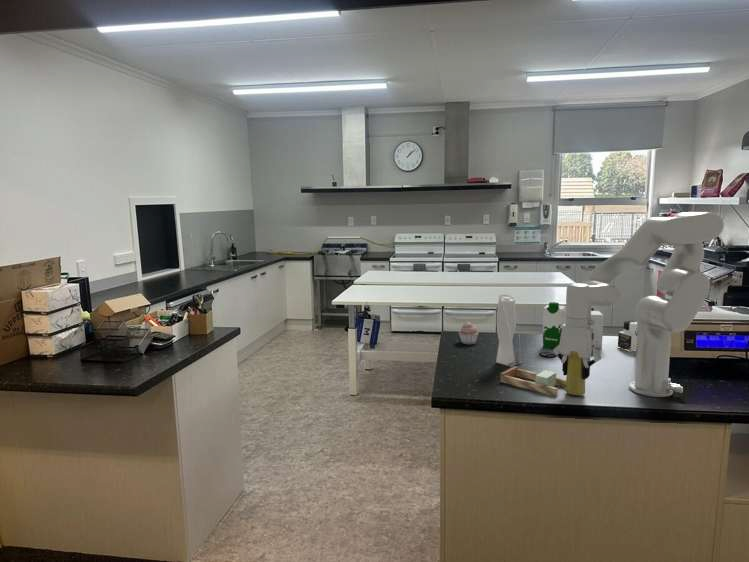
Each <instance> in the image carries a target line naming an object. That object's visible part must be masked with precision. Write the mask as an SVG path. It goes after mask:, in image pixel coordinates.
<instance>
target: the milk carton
mask: <svg viewBox="0 0 749 562" xmlns="http://www.w3.org/2000/svg"><path fill="white" fill-rule="evenodd" d="M565 316H566V305H560V304H559V302H553V301H551V302H549V303H548V304H547V305H545V306H544V307H543V315H542V347H543V349H551V350H553V349H555V348H556V347H557V346H558V345H559V344H560V337H561V332H562V328H563V325H564V324H565Z"/></svg>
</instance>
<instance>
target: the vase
mask: <svg viewBox="0 0 749 562" xmlns="http://www.w3.org/2000/svg"><path fill="white" fill-rule="evenodd" d="M583 367H584V362H583V359H582V358H579V357H578V352H574V351H570V356H568V361H567V375H566V379H565V380H566V388H565V390H564V391H565V393H567V394H569V395H573V396H583V395H585V394H586V379H585V380H583V379H582V374H583Z"/></svg>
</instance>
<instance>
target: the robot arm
mask: <svg viewBox="0 0 749 562" xmlns="http://www.w3.org/2000/svg"><path fill="white" fill-rule="evenodd" d="M724 226H725V224H724V221H723V218H722V217H721V216H720V215H719V214H717V213H715V212H710V211H688V212H687V211H684V212H679V213H676V214H675V215H673V216H670V217H669V216H652V217H649V218H647V219H646V220H645V221H643V223H641V225H639V228H638V229H637V230H636V231H635V232H634V233H633V235H632V236H631V237H630V238H629V239H628V240H627V242H626V243H625V244H624V245H623V246H622V247H621V249H620V250H619V251H617V252H616V253H614V254H613V255H611V256H609V257H608V258H607V259H606V260H604V261H602V262H601V263H599V264H598V265H597V266H596V267H594V269H593V270H592V271H591V272H590V273H589V275H587V277H586V279H584V281H583V282H582V283H580V282H576V283H575V282H574V283H569V284H567V287H566V291H565V292H566V293H565V294H566V297H565V313H566V315H565V324H564V325H563V328H562V332H561V337H560V344H559V345H558V346H557V347H556V348H555V349H552V351H553V353H554V354H555V355H556V356H557V357H558V358H559V360H560V362H561V363H562V365H561V367H562V369H561V371H562V373H563V376H567V361H568V356H570V351H574V352H578V357H579V358H582V359H583V362H584V367H583V374H582V379H583V380H585V381H586V380H587V379H589V377H590V374H591V373H590V371H591V366H592V365H594V364H596V363H597V362H599V361H600V360H601V359H602V356H601V355H600V353H599V352H598V351H597V350H596V348H595V335H594V329H593V327H591V325H595V321H593V320H592V318H591V311H592V307H599V308H613V307H614V306H616V305H617V304H618V303H619V302H620V301H621V299H622V294H621V291H620V290H619V288H618V287H616V286H615V285H614V284H611V283H612V282H613V281H614V280H615V279H617V278H618V277H621V276H623V275H626V274H628V273H633V272H636V271H637V270H641V269H643V268H644V267H645V266H646V264H648V262H649V261H650V260H651V258H652V257H653V256H654V255H655V254H656V252H658V250H660V248H661V247H662V246H674V249H673V252H672V254H671V256H670V258H669V260H668V261H667V263H666V264H665V266H664V268H663V269H662V271H661V273H660V275H659V276H658V279H657V281H656V288H657V290H658V291H659V292H660V293H662V294H663V295H666V296H668V297H671V298H666V297H662V296H658V295H647V296H644V297H642V298H641V299H640V300H639V301H638V303H637V305H636V308H635V317H636V318H635V319H636V322H637V328H638V336H637V351H635V353H636V354H635V370H634V381H631V382H629V384H628V386H629V387H628V388H629V389H630V390H631V391H632V392H634V393H636V394H639V395H642V396H647V397H653V398H654V397H655V398H667V397H670V396H672V395H673V392H676V393H681V394H682V393H683V391H684V387H683V386H681V384H677V383H673V382H672V381H671V380H672V379H671V377H669V373H670V357H671V356H670V354H671V348H672V347H671V345H672V343H671V342H672V339H671V337H672V336H671V333H680V332H683V331H684V330H686V329H687V328H688V327H689V326H690V325H691V324H692V322H693V321H694V319H695V317H696V316H697V314H698V313H699V311H700V310H701V308H702V306H703V304H704V303H705V301H706V299H707V297H708V295H709V293H710V288H711V281H710V279H709V277H708V276H707V275H706V274H705V273H704V272H702V271H700V270H699V268H700V267H701V265H702V262H703V261H704V258H705V248H704V244H703V242H709V241H713V240H715V239H716V238H718V237H719V236H720V235H721V233H722V232H723V231H724ZM591 357H594V358H593V359H591Z"/></svg>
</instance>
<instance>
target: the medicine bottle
mask: <svg viewBox="0 0 749 562" xmlns="http://www.w3.org/2000/svg"><path fill="white" fill-rule="evenodd" d="M636 328H637V320H636V321H635V320H625V321H624V322H623V330H622V331H618V335H617V348H618V347H620V348H619V349H621V348H623V349H622V350H624V349H627V350H629V351H633V352H635V351H634V350H637V336H636V335H635V330H636V331H637V329H636ZM629 351H628V352H629Z"/></svg>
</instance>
